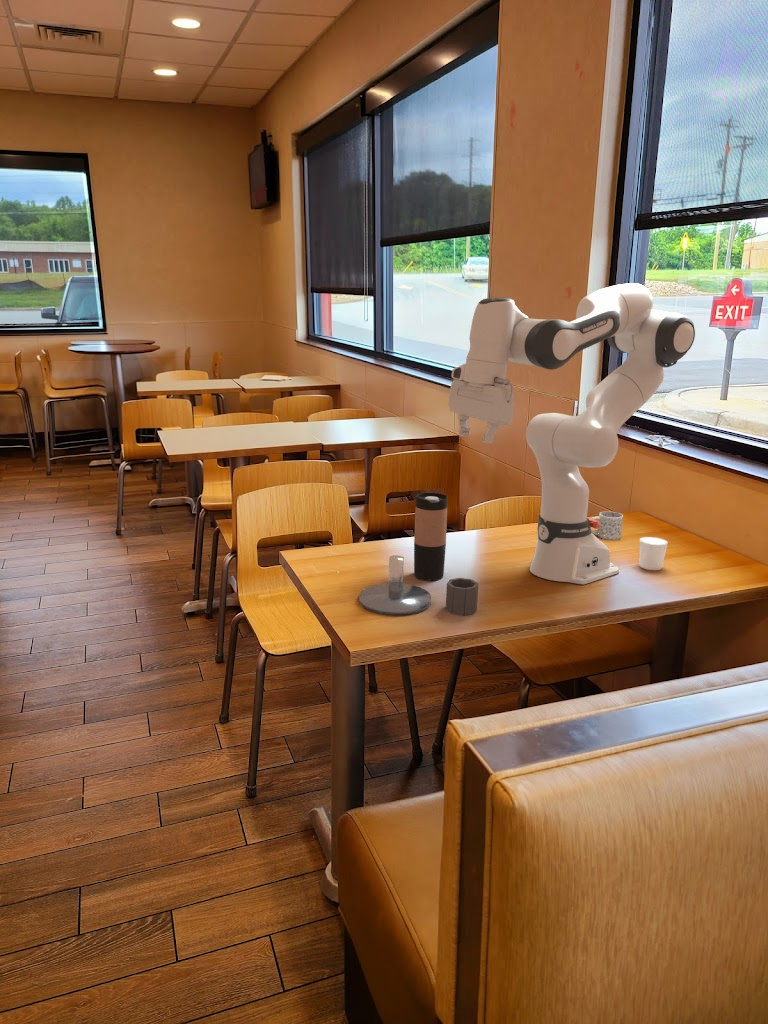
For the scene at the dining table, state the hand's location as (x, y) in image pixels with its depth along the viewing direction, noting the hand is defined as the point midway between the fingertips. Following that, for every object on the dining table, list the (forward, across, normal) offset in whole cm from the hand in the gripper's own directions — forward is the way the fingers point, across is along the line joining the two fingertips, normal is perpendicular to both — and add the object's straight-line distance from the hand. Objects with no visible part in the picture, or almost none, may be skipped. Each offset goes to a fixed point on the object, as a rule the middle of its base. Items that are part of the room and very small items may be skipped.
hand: (475, 439), depth 164 cm
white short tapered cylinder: (+30, -3, -57) cm, 65 cm away
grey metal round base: (+37, +2, +13) cm, 40 cm away
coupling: (+36, -8, +2) cm, 37 cm away
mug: (+29, +22, -64) cm, 74 cm away
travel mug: (+36, +13, -2) cm, 38 cm away
